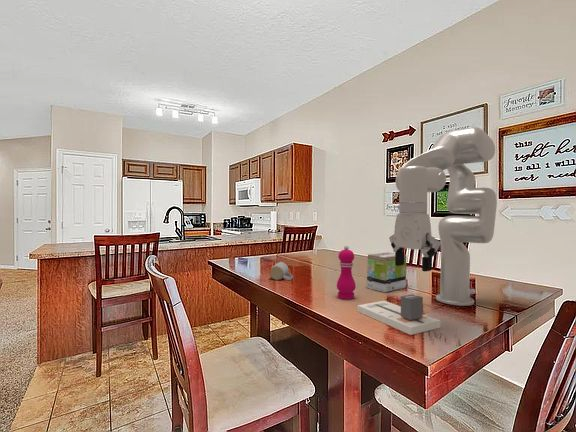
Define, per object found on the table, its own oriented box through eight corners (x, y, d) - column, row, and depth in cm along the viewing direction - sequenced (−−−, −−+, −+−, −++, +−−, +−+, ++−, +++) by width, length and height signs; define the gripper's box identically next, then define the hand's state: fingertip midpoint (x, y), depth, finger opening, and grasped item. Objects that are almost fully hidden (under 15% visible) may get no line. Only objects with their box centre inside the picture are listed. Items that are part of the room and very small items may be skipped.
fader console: (384, 306, 109) (384, 300, 109) (440, 327, 90) (440, 320, 90) (357, 311, 104) (357, 305, 104) (410, 335, 84) (410, 327, 84)
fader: (412, 314, 94) (412, 293, 94) (422, 317, 91) (422, 296, 91) (400, 316, 92) (400, 296, 92) (410, 320, 89) (410, 299, 88)
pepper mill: (355, 300, 116) (356, 246, 116) (336, 299, 117) (336, 246, 117) (355, 295, 123) (355, 244, 123) (336, 294, 124) (337, 244, 124)
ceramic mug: (268, 280, 149) (269, 264, 149) (274, 276, 157) (274, 261, 157) (290, 282, 146) (290, 265, 146) (294, 278, 154) (295, 262, 154)
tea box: (386, 293, 127) (387, 256, 126) (366, 288, 134) (366, 254, 134) (406, 287, 136) (407, 253, 136) (386, 283, 144) (386, 251, 144)
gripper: (381, 209, 97) (381, 264, 97) (429, 209, 81) (429, 274, 82) (399, 209, 100) (399, 262, 101) (448, 209, 85) (448, 272, 85)
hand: (412, 267), depth 91 cm, fingers open, 9 cm apart
